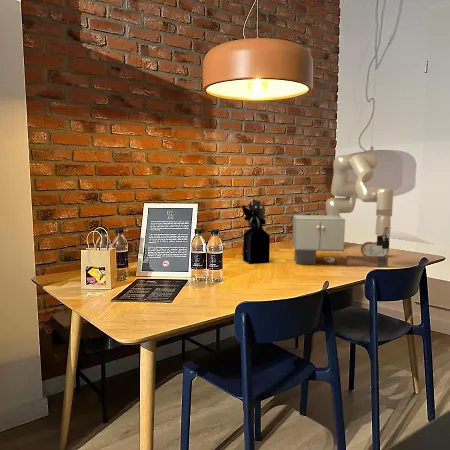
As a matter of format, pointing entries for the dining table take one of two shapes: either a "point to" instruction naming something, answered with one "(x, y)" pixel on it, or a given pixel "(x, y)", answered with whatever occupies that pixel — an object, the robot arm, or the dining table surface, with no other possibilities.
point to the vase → (255, 235)
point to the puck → (329, 260)
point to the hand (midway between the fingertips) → (382, 247)
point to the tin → (373, 249)
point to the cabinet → (316, 236)
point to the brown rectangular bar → (367, 261)
